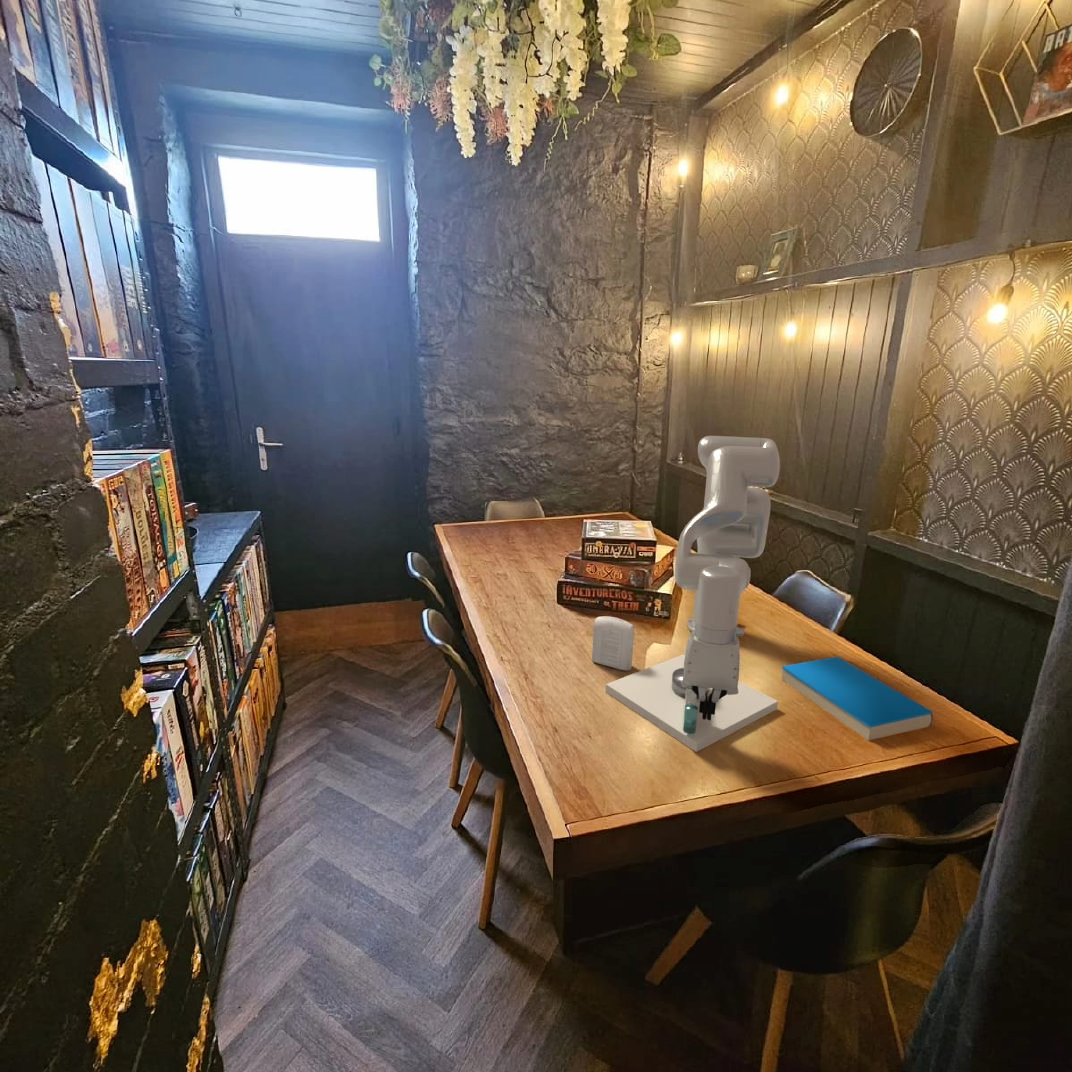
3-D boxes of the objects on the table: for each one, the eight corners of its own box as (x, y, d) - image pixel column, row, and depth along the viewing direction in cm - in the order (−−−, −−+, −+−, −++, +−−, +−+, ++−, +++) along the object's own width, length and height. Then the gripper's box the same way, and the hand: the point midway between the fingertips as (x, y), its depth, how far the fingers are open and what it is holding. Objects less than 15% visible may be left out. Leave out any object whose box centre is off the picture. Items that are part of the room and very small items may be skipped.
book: (870, 726, 112) (781, 665, 135) (867, 745, 114) (778, 681, 136) (935, 711, 118) (838, 654, 140) (931, 729, 119) (836, 670, 141)
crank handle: (672, 677, 132) (674, 653, 130) (708, 682, 130) (710, 658, 128) (667, 733, 111) (669, 706, 110) (710, 740, 109) (713, 712, 108)
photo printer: (634, 665, 142) (637, 619, 139) (628, 673, 139) (631, 625, 135) (596, 655, 147) (598, 610, 144) (589, 662, 143) (590, 616, 140)
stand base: (683, 661, 144) (684, 653, 144) (776, 709, 124) (778, 700, 123) (605, 692, 130) (606, 683, 130) (696, 752, 110) (697, 742, 109)
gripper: (754, 627, 111) (744, 711, 116) (675, 619, 114) (668, 700, 119) (758, 644, 104) (747, 733, 109) (673, 634, 107) (667, 720, 112)
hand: (706, 715), depth 114 cm, fingers closed
